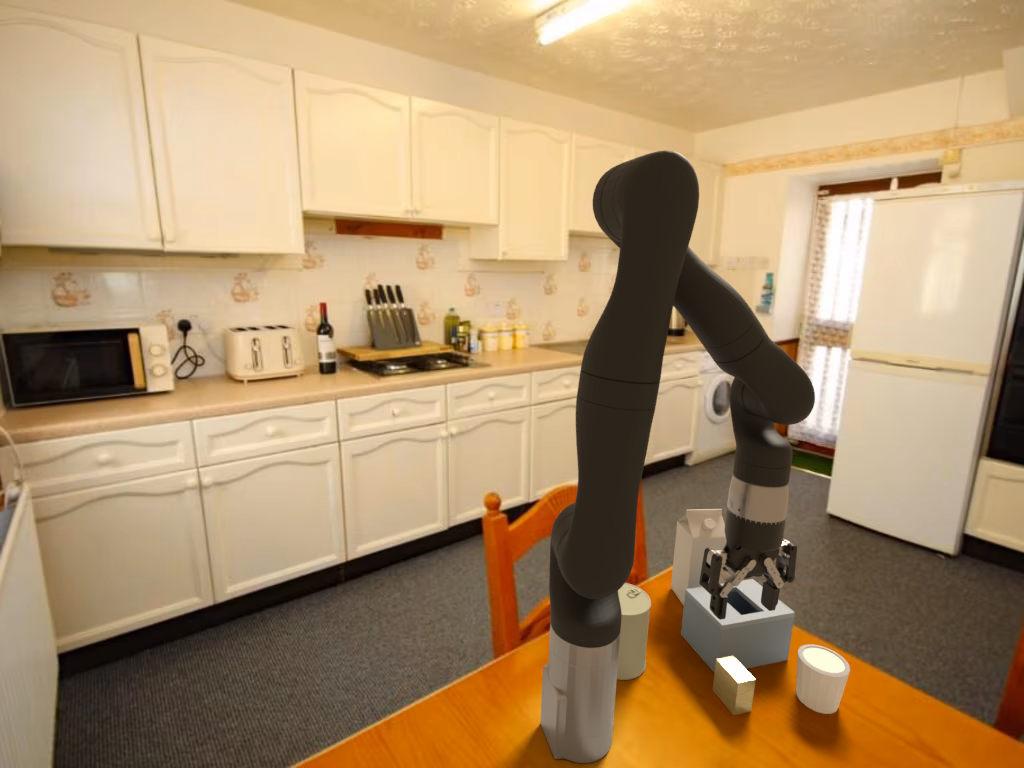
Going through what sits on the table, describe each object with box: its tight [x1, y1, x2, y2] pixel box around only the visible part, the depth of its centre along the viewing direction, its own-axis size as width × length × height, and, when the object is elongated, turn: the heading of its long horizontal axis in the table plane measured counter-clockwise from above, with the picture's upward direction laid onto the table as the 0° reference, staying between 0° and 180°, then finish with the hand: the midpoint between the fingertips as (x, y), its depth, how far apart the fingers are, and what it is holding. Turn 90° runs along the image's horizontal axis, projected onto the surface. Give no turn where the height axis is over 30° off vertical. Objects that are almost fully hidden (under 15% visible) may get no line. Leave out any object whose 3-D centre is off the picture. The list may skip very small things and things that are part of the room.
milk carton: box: [670, 508, 726, 607], centre depth 103 cm, size 7×7×19 cm
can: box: [617, 582, 652, 681], centre depth 86 cm, size 9×9×12 cm
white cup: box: [795, 643, 851, 715], centre depth 80 cm, size 7×7×7 cm
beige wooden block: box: [712, 656, 756, 716], centre depth 79 cm, size 3×5×6 cm, turn 16°
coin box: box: [680, 578, 796, 674], centre depth 90 cm, size 14×10×9 cm
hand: (743, 611), depth 77 cm, fingers open, 8 cm apart
